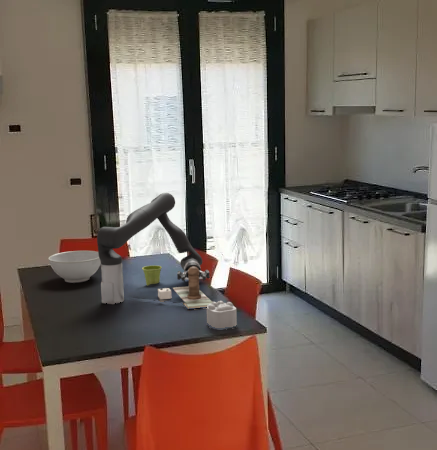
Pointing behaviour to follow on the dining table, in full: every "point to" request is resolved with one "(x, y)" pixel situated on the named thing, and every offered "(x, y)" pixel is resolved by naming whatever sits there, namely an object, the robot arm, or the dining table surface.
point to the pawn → (193, 283)
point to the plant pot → (152, 274)
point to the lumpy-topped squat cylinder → (221, 314)
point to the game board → (192, 303)
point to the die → (164, 294)
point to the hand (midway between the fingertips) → (193, 278)
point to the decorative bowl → (75, 265)
